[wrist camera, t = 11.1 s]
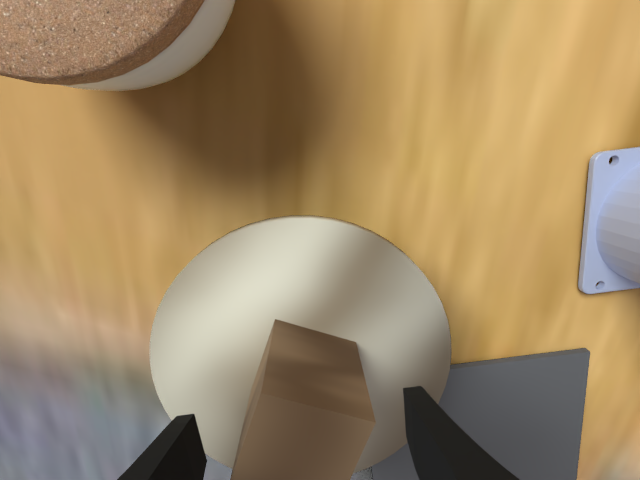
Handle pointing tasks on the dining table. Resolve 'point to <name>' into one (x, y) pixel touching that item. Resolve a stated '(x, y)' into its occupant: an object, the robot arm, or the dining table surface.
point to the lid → (299, 347)
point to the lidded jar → (107, 40)
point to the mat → (514, 414)
